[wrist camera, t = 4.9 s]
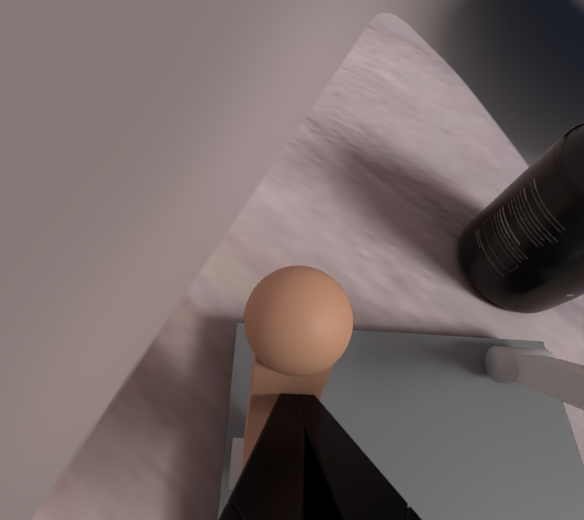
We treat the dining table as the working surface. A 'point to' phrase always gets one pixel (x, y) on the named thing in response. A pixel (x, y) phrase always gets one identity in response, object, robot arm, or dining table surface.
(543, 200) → the supplement bottle
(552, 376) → the pale grey lever
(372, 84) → the dining table surface
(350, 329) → the terracotta lever
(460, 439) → the switch panel
